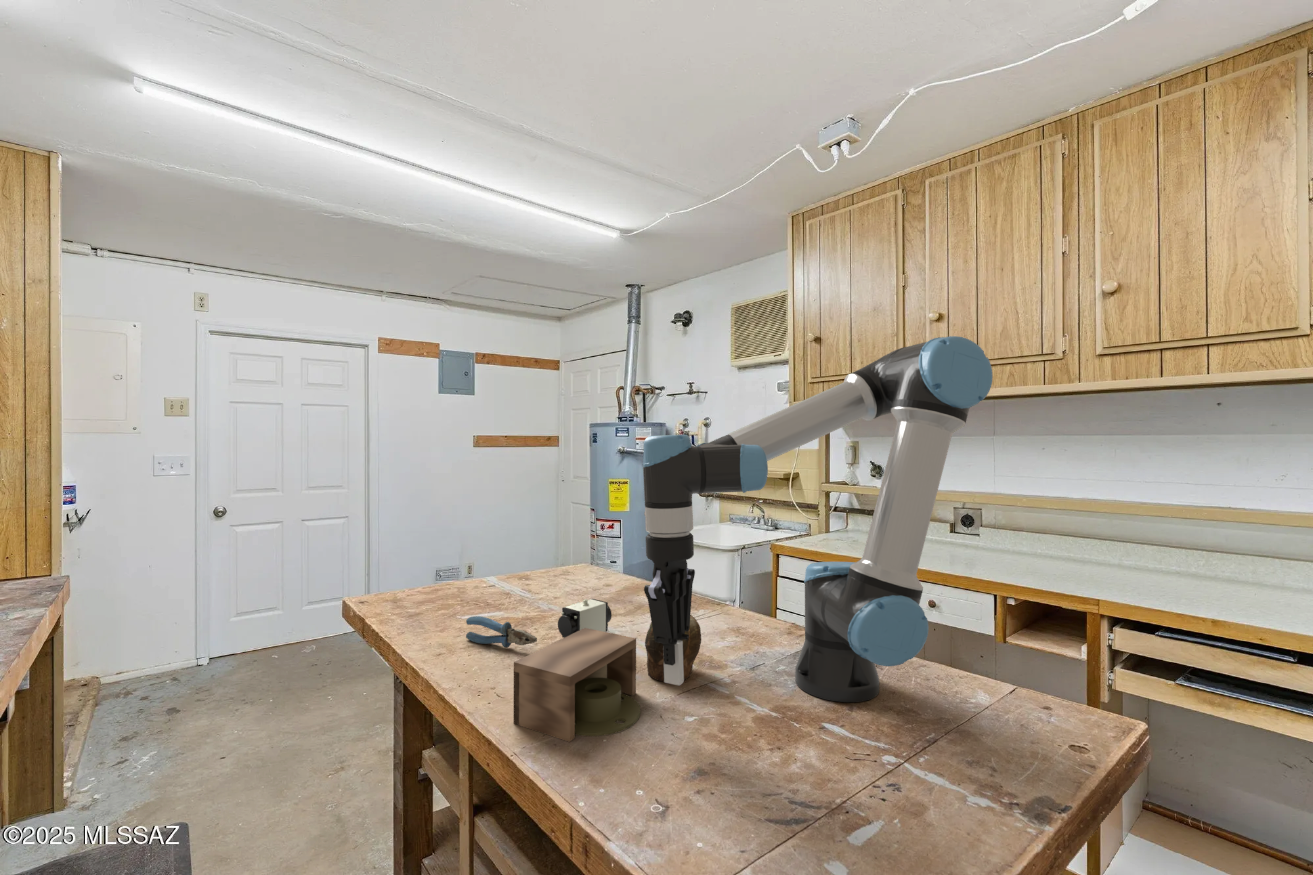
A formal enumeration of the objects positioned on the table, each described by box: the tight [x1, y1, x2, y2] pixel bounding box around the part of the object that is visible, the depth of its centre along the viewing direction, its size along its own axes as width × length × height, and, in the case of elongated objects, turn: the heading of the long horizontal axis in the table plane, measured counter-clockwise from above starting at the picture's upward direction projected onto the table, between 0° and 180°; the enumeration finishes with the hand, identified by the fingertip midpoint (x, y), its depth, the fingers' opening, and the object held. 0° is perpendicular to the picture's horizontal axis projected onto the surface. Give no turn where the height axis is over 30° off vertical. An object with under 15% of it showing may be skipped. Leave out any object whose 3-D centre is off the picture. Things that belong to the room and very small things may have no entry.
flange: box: [575, 678, 641, 737], centre depth 98 cm, size 5×15×15 cm
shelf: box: [513, 628, 637, 743], centre depth 100 cm, size 12×19×10 cm, turn 151°
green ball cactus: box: [644, 614, 702, 683], centre depth 114 cm, size 11×11×12 cm
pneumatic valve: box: [557, 598, 613, 639], centre depth 123 cm, size 6×12×12 cm, turn 141°
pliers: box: [465, 615, 538, 649], centre depth 128 cm, size 20×2×6 cm, turn 61°
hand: (674, 681), depth 91 cm, fingers closed
